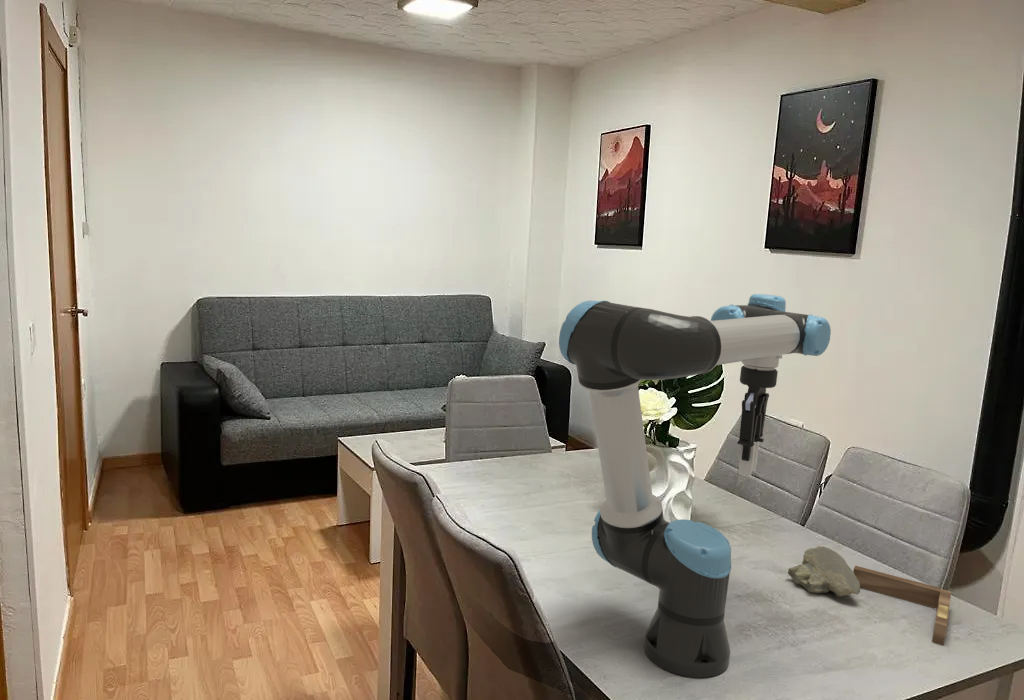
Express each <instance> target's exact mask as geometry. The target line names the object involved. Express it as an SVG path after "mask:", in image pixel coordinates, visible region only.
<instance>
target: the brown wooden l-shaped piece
mask: <svg viewBox="0 0 1024 700" xmlns="http://www.w3.org/2000/svg"><path fill="white" fill-rule="evenodd" d="M852 571H853V572H854V574H855V576H856V577H857V579H858V581H859V583H860V589H864V590H867V591H871V592H874V593H878V594H881V595H885V596H889V597H892V598H897V599H900V600H902V601H907V602H911V603H915V604H918V605H921V606H925V607H929V608H932V609H935V608H936V609H935V610H936V614H935V621H934V627H933V634H932V640H931V642H932V643H935V644H937V645H941V646H945V641H946V634H947V628H948V621H949V611H950V605H951V597H952V591H950V590H945V589H942V588H941V587H939V586H938V587H937V586H934V585H930V584H926V583H923V582H920V581H915V580H911V579H907V578H904V577H901V576H897V575H893V574H889V573H885V572H882V571H877V570H874V569H870V568H866V567H862V566H859V565H854V567H853V570H852Z"/></svg>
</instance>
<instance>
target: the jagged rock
mask: <svg viewBox="0 0 1024 700" xmlns="http://www.w3.org/2000/svg"><path fill="white" fill-rule="evenodd" d="M853 571H854V570H852V568H851V567H850V566H849V565H848V563H847V561H846V560H845V558H843V557H842V555H840V554H839V553H838V552H836V551H835V550H833V549H831V548H828V547H825V546H816V547H813V548H812V547H811V548H807V549H806V550H804V554H803V558H802V563H801V564H798V565H796V566H793V567H788V572H787V575H788V576H790V578H791V579H792V580H793V581H794V582H795V583H796V585H799V586H803V588H805V589H806V590H807V591H808V592H810V593H814V594H815V593H816V594H824V593H829V592H832V593H834V594H835V595H836V596H837V597H838V598H840V597H844V596H848V595H853V594H854V595H859V594H860V592H861V588H860V583H859V581H858V579H857V577H856V576H855V574H854V572H853Z"/></svg>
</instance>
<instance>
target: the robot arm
mask: <svg viewBox="0 0 1024 700" xmlns="http://www.w3.org/2000/svg"><path fill="white" fill-rule="evenodd" d="M786 303H787V302H786V298H784V297H783V296H781V295H780V296H779V295H774V294H766V293H765V294H763V293H754V294H753V293H752V294H751V295H750V297H749V299H748V302H747V304H745V305H744V304H743V305H742V304H741V305H739V304H738V305H737V304H736V305H735V304H729V305H724V306H720V307H719V308H717V309H716V310H714V312H713V313H712V316H711V318H710V320H709V319H708V318H706V317H704V316H698V315H693V316H692V315H691V316H686V315H679V314H675V313H669V312H665V311H661V310H657V309H653V308H644V307H639V306H638V307H637V306H632V305H627V304H620V303H615V302H610V301H608V300H599V301H598V300H585V301H582V302H579V304H576V306H574V307H573V308H572V309H570V311H569V312H568V313H567V315H566V318H565V320H564V321H563V322H562V324H561V328H560V331H559V334H558V335H559V336H558V346H559V347H558V348H559V352H560V354H561V356H562V357H563V358H564V360H566V361H567V362H568V363H569V364H571V365H575V366H576V372H577V377H578V384H579V386H581V387H582V388H583V389H584V390H587V391H588V393H589V398H590V405H591V411H592V418H593V423H594V424H593V425H594V429H595V430H594V431H595V436H596V442H597V449H598V455H599V463H600V467H601V475H602V481H603V487H604V494H605V500H604V501H603V502H602V504H601V506H600V509H599V510H598V511H597V513H596V515H595V516H594V519H593V521H594V525H592V527H591V542H592V545H593V546H592V547H593V548H594V550H595V552H596V553H597V555H598V556H599V558H601V559H602V560H603V561H605V562H607V563H609V564H610V566H612V567H614V568H617V569H618V570H622V571H624V572H625V573H628V574H629V575H632V576H634V577H636V578H637V579H640V580H641V581H644V582H646V583H648V584H650V585H653V586H655V587H656V588H658V603H657V608H656V611H655V612H654V615H653V617H652V618H651V621H650V622H649V625H648V627H647V629H646V631H645V633H644V641H643V642H644V643H643V650H644V653H645V655H646V656H647V658H648V659H649V660H650V661H651V662H653V663H654V664H655V665H656V666H658V667H659V668H661V669H663V670H665V671H668V672H670V673H673V674H676V675H679V676H683V677H688V678H689V677H690V678H710V677H714V676H717V675H720V674H723V672H725V671H726V670H727V669H728V667H729V664H730V657H731V648H730V643H729V639H728V634H727V630H726V624H725V612H726V605H727V604H726V603H727V598H728V597H727V596H728V588H729V582H730V581H729V580H730V573H731V570H732V547H731V545H730V544H731V543H730V541H729V539H728V538H727V537H726V536H725V535H724V533H722V532H721V531H720V530H718V529H716V528H714V527H713V526H711V525H709V524H706V523H703V522H701V521H696V522H695V521H694V520H693V519H684V518H683V519H676V520H672V521H670V522H669V521H666V520H665V517H664V509H663V504H662V502H661V500H660V498H659V497H657V496H656V495H655V494H653V488H652V482H651V475H650V474H651V473H650V468H649V467H650V466H649V459H648V451H647V444H646V437H645V436H646V435H645V429H644V421H643V415H642V414H643V413H642V406H641V399H640V391H639V390H640V389H639V384H640V383H641V381H643V380H644V381H645V380H646V381H661V380H663V381H664V380H671V379H672V380H673V379H678V378H684V377H692V376H697V375H703V374H707V373H709V372H711V371H712V370H713V369H714V368H715V367H716V366H720V365H726V364H733V363H737V362H739V363H740V362H741V363H742V364H743V365H742V366H741V367H740V376H739V383H740V384H742V385H745V386H747V388H748V389H747V392H745V393H744V399H743V400H742V401H741V418H740V428H739V429H740V430H739V439H738V441H737V443H736V444H738V445H740V454H739V460H738V461H739V462H738V470H737V473H738V474H740V475H744V476H748V477H751V476H752V473H755V472H756V471H757V463H758V455H759V447H760V443H764V438H762V437H763V436H764V428H765V421H766V420H765V419H766V414H767V413H766V412H767V407H768V406H767V405H768V400H769V397H770V394H769V393H767V389H772V388H775V387H776V386H777V380H778V373H779V371H778V370H777V368H778V367H779V362H780V359H783V355H790V354H800V355H803V356H813V357H814V356H815V357H818V356H821V355H822V354H824V352H825V351H826V350H827V348H828V346H829V344H830V340H831V331H832V330H831V326H830V323H829V321H828V320H827V318H825V317H823V316H819V315H818V316H817V315H813V314H811V313H810V314H805V313H798V312H797V313H796V312H789V311H786Z"/></svg>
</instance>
